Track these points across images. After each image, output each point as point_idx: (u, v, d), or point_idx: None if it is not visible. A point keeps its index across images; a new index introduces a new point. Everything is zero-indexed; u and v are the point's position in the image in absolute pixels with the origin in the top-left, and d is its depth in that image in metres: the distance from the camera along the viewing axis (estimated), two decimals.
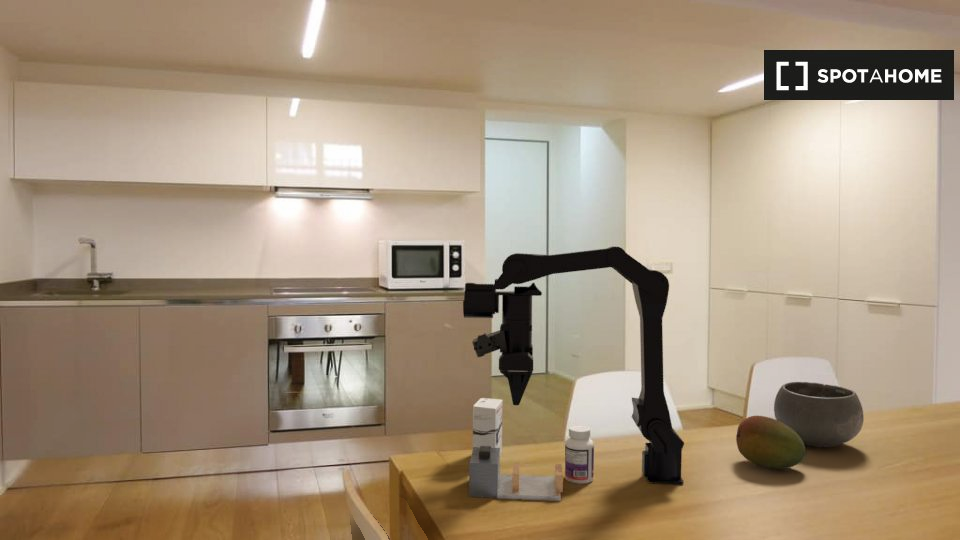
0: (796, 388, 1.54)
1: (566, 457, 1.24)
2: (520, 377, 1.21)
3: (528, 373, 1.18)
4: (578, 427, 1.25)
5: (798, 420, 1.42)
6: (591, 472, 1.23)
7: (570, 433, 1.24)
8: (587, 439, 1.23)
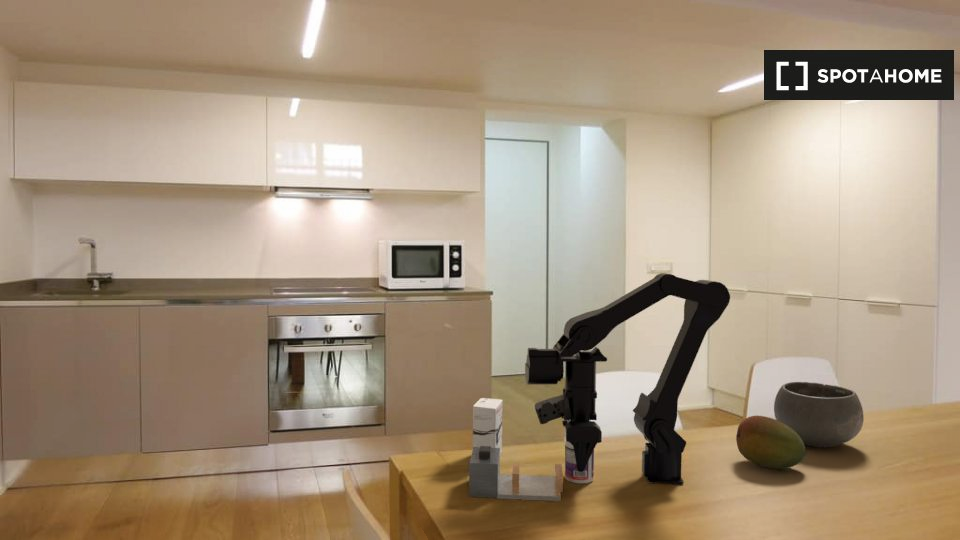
0: (796, 388, 1.54)
1: (566, 457, 1.24)
2: (585, 444, 1.20)
3: None
4: None
5: (798, 420, 1.42)
6: (591, 471, 1.23)
7: None
8: None
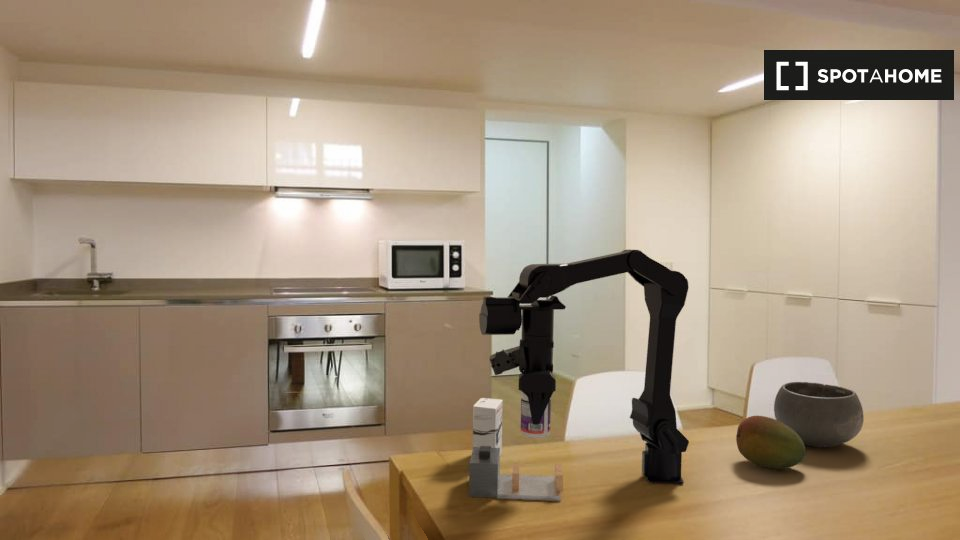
0: (796, 388, 1.54)
1: (521, 410, 1.18)
2: (541, 395, 1.15)
3: (549, 391, 1.12)
4: None
5: (798, 419, 1.42)
6: (547, 425, 1.17)
7: None
8: None
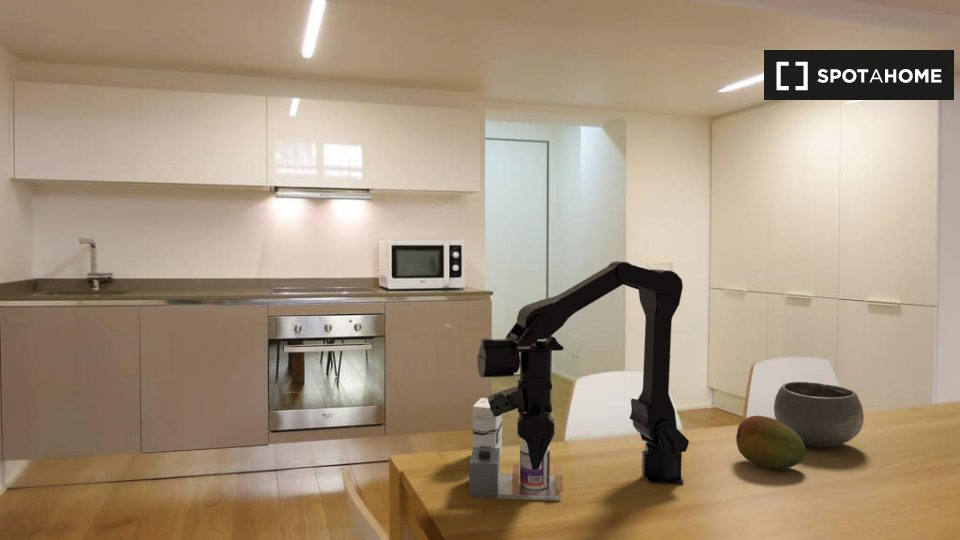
0: (796, 388, 1.54)
1: (521, 462, 1.18)
2: (540, 440, 1.13)
3: (549, 437, 1.11)
4: None
5: (798, 420, 1.42)
6: (546, 477, 1.17)
7: None
8: None
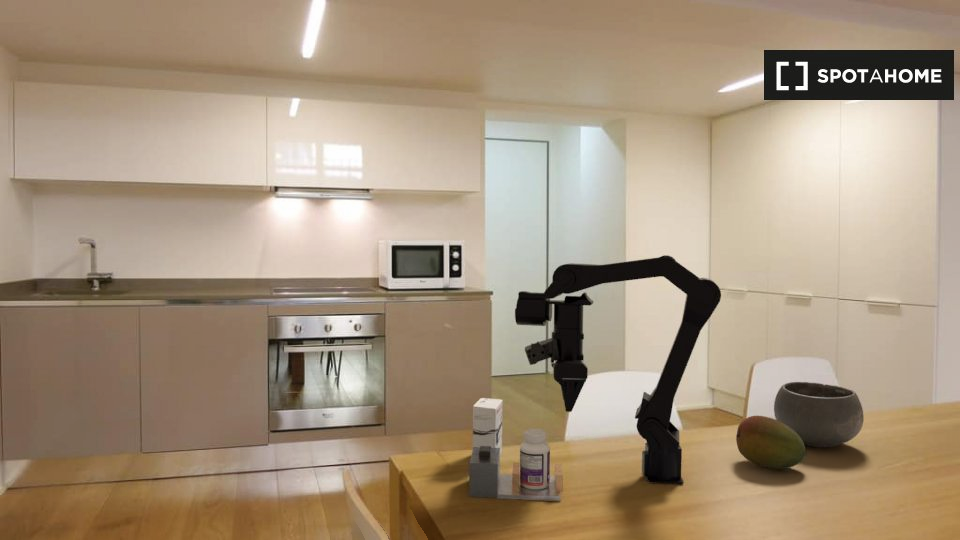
0: (796, 388, 1.54)
1: (521, 462, 1.18)
2: (573, 384, 1.24)
3: (582, 381, 1.22)
4: (534, 430, 1.20)
5: (798, 419, 1.42)
6: (546, 477, 1.18)
7: (525, 437, 1.18)
8: (542, 443, 1.18)
